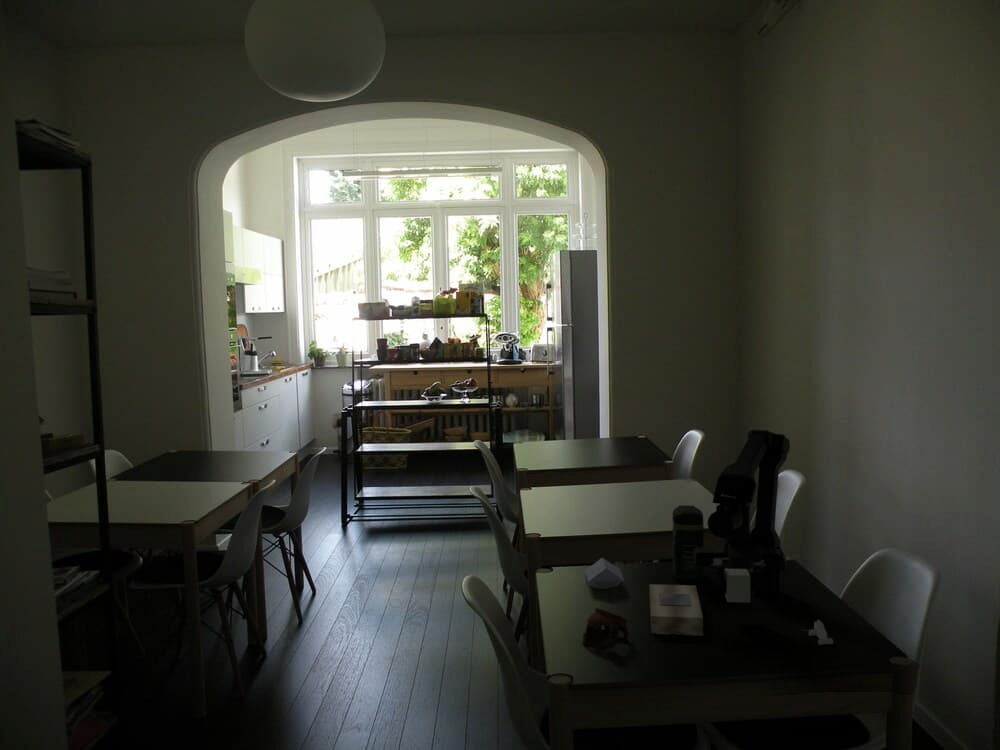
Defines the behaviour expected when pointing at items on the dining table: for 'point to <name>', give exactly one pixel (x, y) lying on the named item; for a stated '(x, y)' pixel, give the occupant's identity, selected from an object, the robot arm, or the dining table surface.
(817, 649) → the dining table surface
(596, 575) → the wedge on round base
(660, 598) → the birch base
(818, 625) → the grey curved piece
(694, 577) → the coffee jar
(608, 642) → the pottery mug
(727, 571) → the sage block
